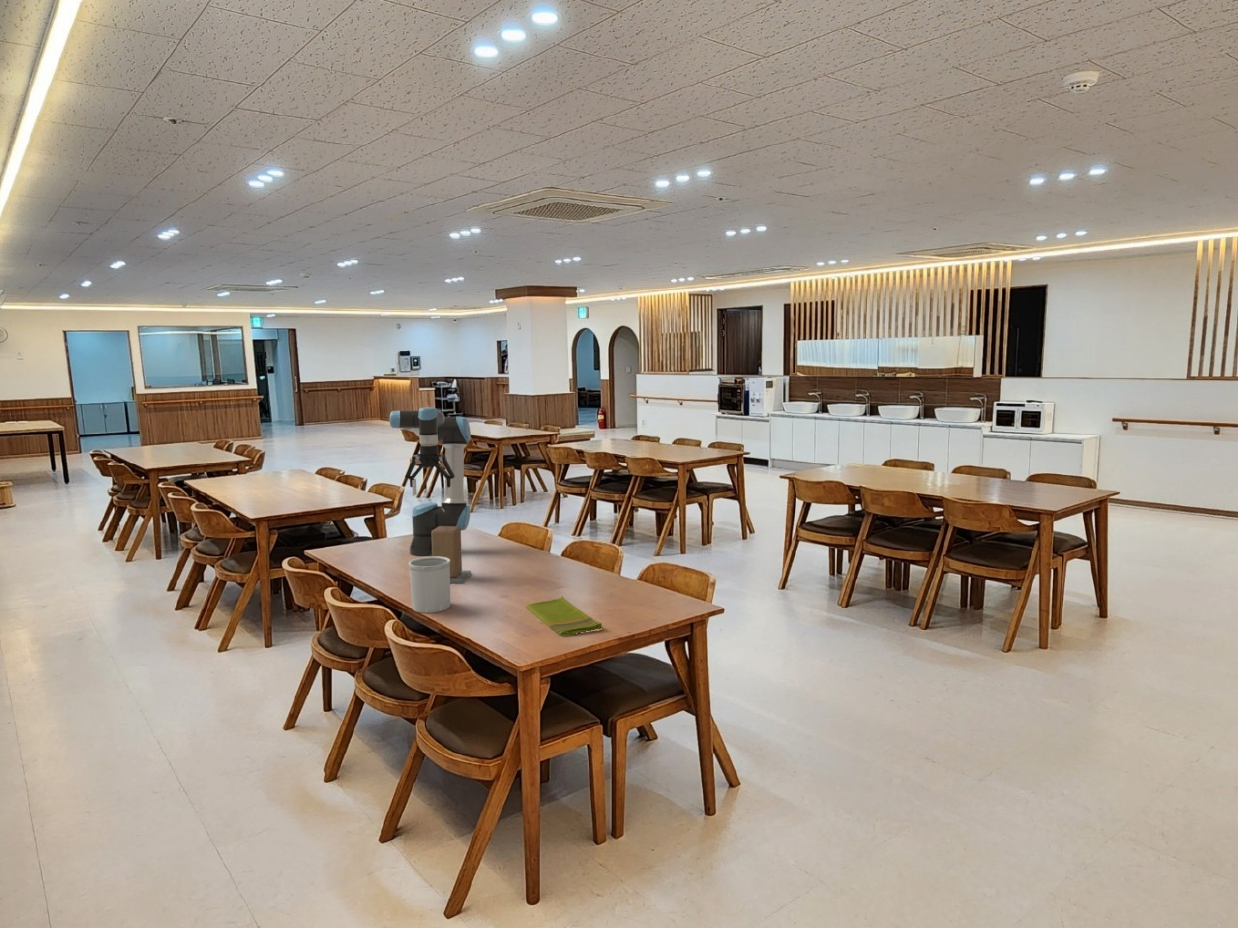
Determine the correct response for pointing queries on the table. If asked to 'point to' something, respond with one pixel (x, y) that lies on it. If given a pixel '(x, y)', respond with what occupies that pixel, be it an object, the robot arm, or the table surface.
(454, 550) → the wooden block
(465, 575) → the plate
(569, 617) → the dish towel
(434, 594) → the utensil holder
